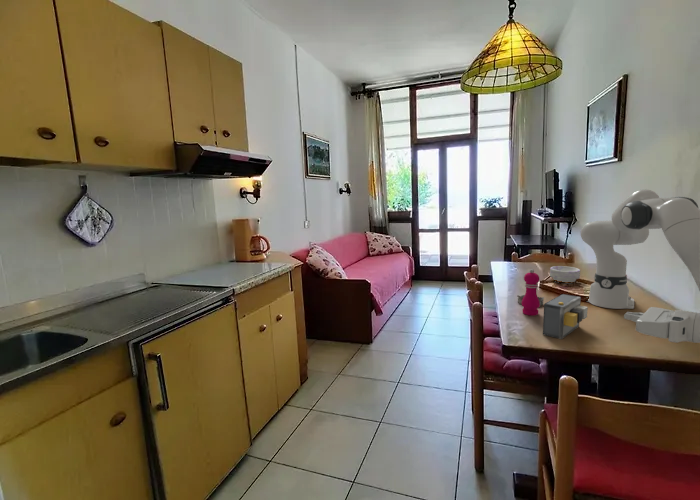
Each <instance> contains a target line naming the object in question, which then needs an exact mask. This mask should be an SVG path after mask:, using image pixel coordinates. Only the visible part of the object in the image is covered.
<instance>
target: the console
mask: <svg viewBox="0 0 700 500" xmlns="http://www.w3.org/2000/svg"><path fill="white" fill-rule="evenodd" d="M581 300H582V298H581V296H578V295H577V296H576V295H570V294H564V293H562V294H560V295H558V296H557V297H554V298H552V299H551V300H549V301H547V302H545V303H543V322H542V335H543V336H548V337H551V338H556V339H558V340H563V339H564V338H566V337H567V336H568V335H570V334H571V333H573V332H574V331H575V330H576V329H577V328H579V327H580V323H577V325H575V326H574V327H571V326H566V325H564V314H565V313H566V312H570V310H571V309H572V308H573V309H575V307H576V306H577V305H579V306H581Z"/></svg>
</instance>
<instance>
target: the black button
mask: <svg viewBox="0 0 700 500" xmlns="http://www.w3.org/2000/svg"><path fill="white" fill-rule="evenodd" d="M570 313H575V314H577V323H579V324H580V323H581V322H582V321H583V319H582V314H583V310H578V309H573V308H572V309H571V310H570Z"/></svg>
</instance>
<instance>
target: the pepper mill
mask: <svg viewBox="0 0 700 500" xmlns="http://www.w3.org/2000/svg"><path fill="white" fill-rule="evenodd" d="M523 280H524V282H525V283H524V284H525V285H524V287H525V294H524V295H525V296H524V297H523V299H522V304H521V306H522V314H524V315H527V316H533V317H535V316H538V315H539V307H541V306H540V302H539V299H538V297H539V296H538V295H537V288H538V287H539V284H538V283H539V282H540V276H539V274H537V273H536V272H535V269H533V268H531V269H529V272H527V273H525V275H524V276H523Z"/></svg>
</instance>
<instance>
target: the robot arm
mask: <svg viewBox="0 0 700 500" xmlns="http://www.w3.org/2000/svg"><path fill="white" fill-rule="evenodd" d="M656 229H661V230H662V233H663V235H664V236H665V238H666V240H667V243H668V244H669V246H670V247H671V249H672V250H673V251H674V252H675V253H676V255H677V256H678V257H679V259H681V261H682V262H683V264H684V265H685V266H686V268H687V269H688V270H689V272H690V274H691V276H692V277H693V279H694V282H695V284H696V286H697V288H698V291H700V209H699V205H698V204H697V202H696V201H695V200H694V199H693V198H690V197H685V196H672V197H659V195H658V193H656V192H655V191H653V190H651V189H647V188H646V189H639V190H636V191H635V192H632V193H631V194H630V195H629V196H628V197H626V198H625V199H624V200H623V201H622V202H621V203H620V204H619V205H618V206H617V207H616V209H615V210H614V211H613V213H612V214H611V220H596V221H595V220H594V221H590V222H586V223H585V224H584V225H583V226H582V228H581V229H580V238H581V239H582V242H584V243H585V244H586V245H588V246H589V247H590V248H591V249H592V250H593V253H594V255H595V258H596V259H595V261H596V265H595V267H596V269H595V270H596V271H595V274H594V277H593V278H594V282H592V283H591V284H590V287H589V295H588V297H589V299H588V301H587V303H590V304H591V305H593V306H597V307H601V308H606V309H614V310H615V309H618V310H619V309H621V310H622V309H624V310H625V309H633V310H634V309H635V299H634V298H632V296H630V288H629V286H628V275H627V266H628V260H627V258H626V256H624V255H623V254H621V253H619V252H617V251H615V249H614V246H631V245H638V244H642V243H644V242H646V241H647V239H648V238H649V235H650V230H656ZM623 319H624V320H629V321H632V322H634V323H635V331H636V332H638V333H640V334H643V335H647V336H651V337H654V338H658V339H664V340H665V339H667V340H668V341H669V342H671V343H677V344H678V343H682V342H689V343H695V344H697V343H699V344H700V312H697V311H696V312H694V311H689V310H683V309H675V310H673V309H668V308H667V309H666V308H662V307H657V306H650V307H648V309H647V310H646V311H645V312H631V311H627V312H626V313H624V314H623Z"/></svg>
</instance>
